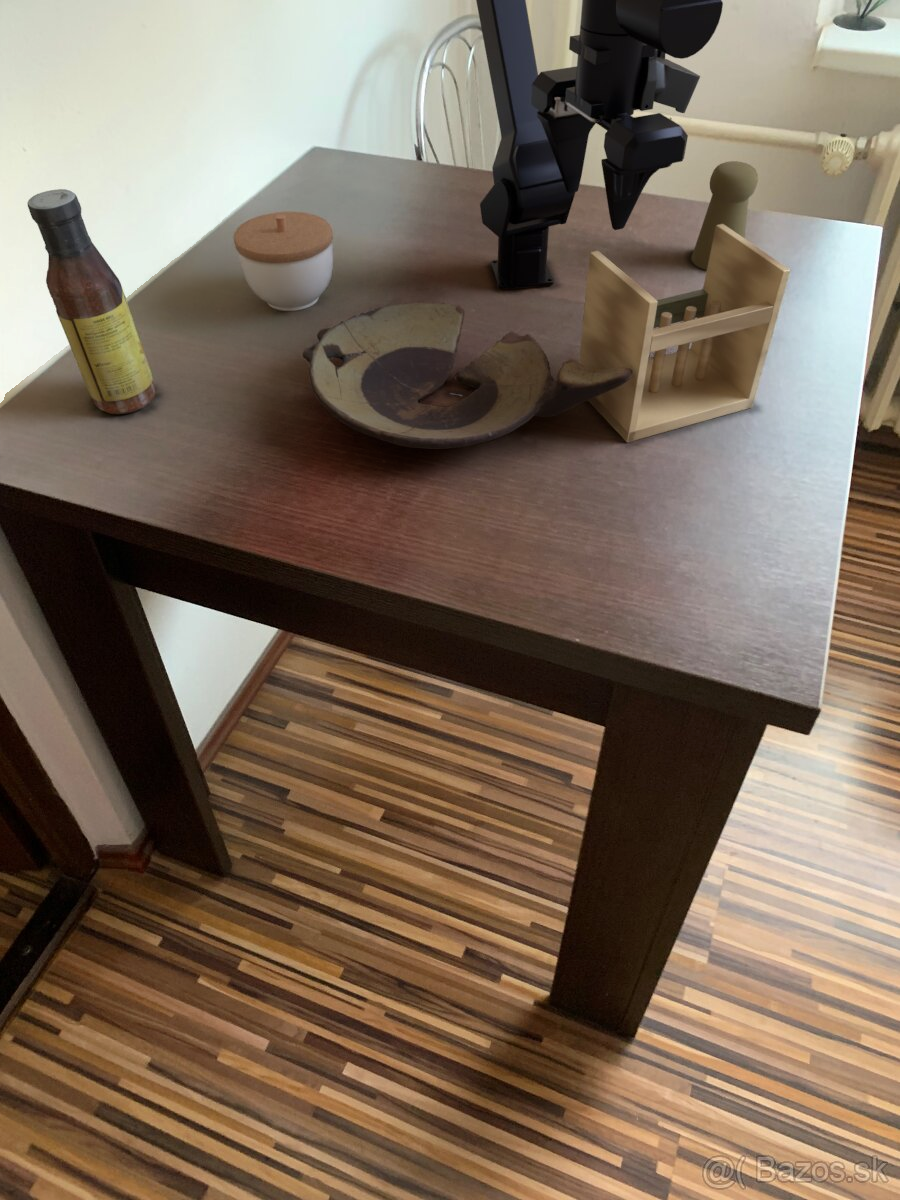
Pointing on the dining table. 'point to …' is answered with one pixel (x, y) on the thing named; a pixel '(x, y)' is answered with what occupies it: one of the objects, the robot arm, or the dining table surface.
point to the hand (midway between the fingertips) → (594, 209)
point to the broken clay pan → (440, 378)
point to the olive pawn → (725, 205)
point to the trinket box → (286, 258)
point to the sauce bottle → (92, 307)
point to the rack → (682, 339)
